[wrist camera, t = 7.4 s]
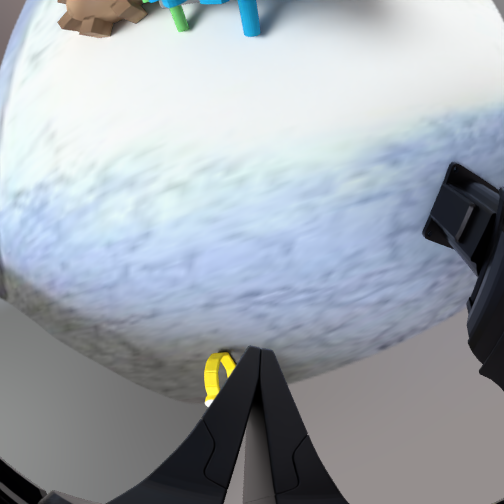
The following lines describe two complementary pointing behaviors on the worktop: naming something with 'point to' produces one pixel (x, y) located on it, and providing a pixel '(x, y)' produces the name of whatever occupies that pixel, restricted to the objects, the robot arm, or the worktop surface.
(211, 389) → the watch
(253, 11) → the gear
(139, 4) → the gear
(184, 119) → the worktop surface
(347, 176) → the worktop surface
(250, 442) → the robot arm
